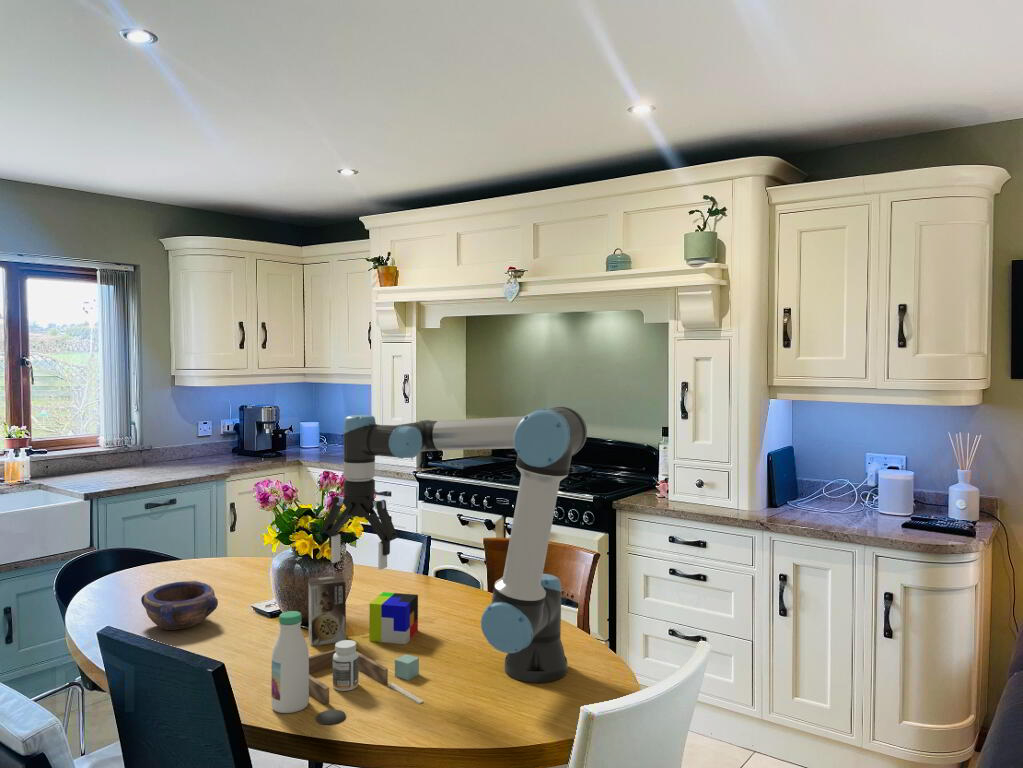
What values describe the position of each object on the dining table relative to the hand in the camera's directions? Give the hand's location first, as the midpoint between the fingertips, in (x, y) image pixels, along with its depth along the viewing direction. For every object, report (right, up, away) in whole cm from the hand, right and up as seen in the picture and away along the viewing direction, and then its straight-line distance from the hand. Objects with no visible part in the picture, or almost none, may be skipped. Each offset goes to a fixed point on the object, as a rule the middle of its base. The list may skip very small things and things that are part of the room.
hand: (359, 565), depth 187 cm
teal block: (+13, -24, -7) cm, 28 cm away
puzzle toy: (+6, -24, +18) cm, 30 cm away
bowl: (-54, -23, +24) cm, 63 cm away
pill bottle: (0, -25, -13) cm, 28 cm away
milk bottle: (-10, -25, -23) cm, 36 cm away
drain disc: (0, -25, -28) cm, 38 cm away
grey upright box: (-11, -23, +15) cm, 30 cm away
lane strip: (+14, -25, -17) cm, 33 cm away
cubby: (-3, -24, -11) cm, 27 cm away
